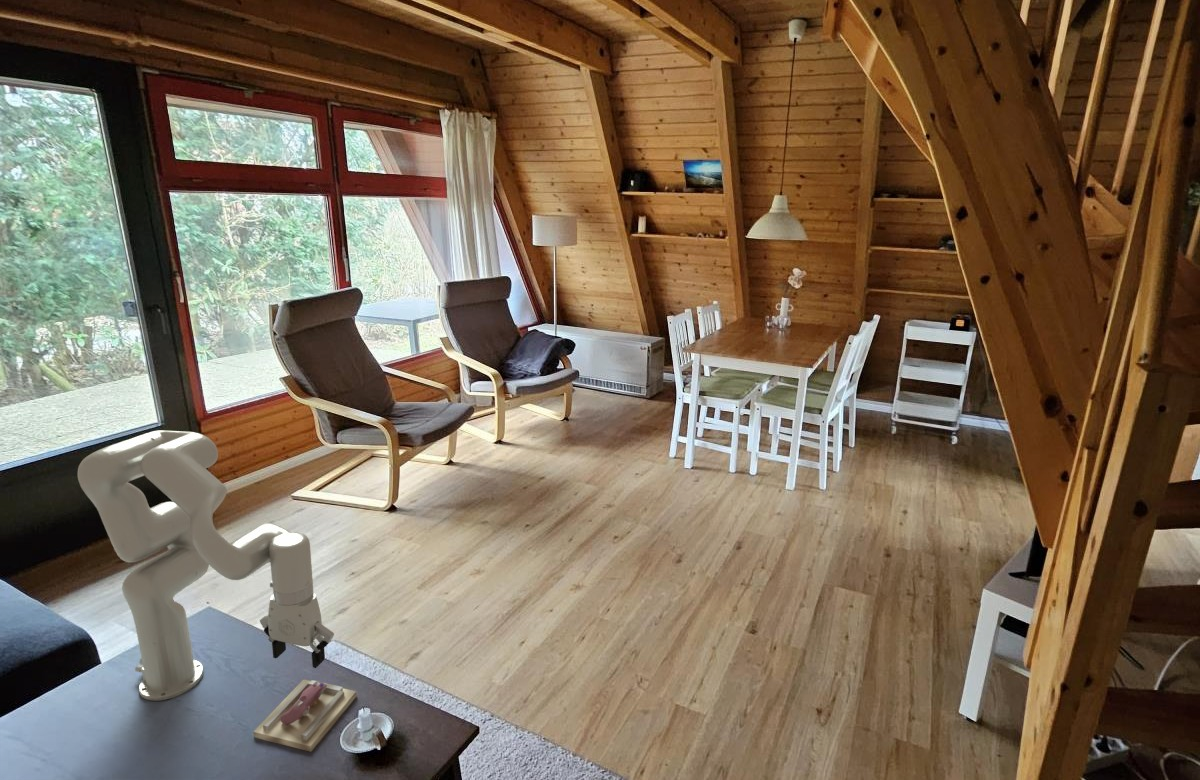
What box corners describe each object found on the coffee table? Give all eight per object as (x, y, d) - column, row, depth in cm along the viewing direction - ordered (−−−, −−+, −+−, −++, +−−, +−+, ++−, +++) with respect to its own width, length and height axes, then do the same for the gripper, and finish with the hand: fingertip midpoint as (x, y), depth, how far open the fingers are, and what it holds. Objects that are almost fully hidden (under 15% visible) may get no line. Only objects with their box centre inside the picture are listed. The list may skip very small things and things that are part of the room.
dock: (253, 737, 133) (252, 727, 133) (304, 684, 148) (303, 675, 148) (311, 751, 130) (310, 741, 130) (356, 696, 145) (355, 687, 145)
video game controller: (294, 734, 135) (304, 713, 132) (276, 722, 135) (286, 701, 132) (323, 700, 144) (333, 680, 141) (307, 689, 144) (316, 670, 142)
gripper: (244, 593, 129) (252, 661, 133) (318, 609, 125) (323, 679, 130) (270, 573, 136) (277, 639, 141) (341, 588, 132) (345, 655, 137)
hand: (299, 658), depth 135 cm, fingers open, 9 cm apart
